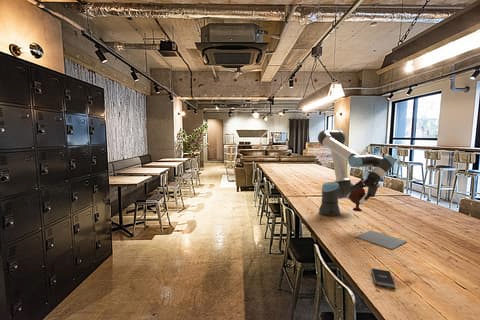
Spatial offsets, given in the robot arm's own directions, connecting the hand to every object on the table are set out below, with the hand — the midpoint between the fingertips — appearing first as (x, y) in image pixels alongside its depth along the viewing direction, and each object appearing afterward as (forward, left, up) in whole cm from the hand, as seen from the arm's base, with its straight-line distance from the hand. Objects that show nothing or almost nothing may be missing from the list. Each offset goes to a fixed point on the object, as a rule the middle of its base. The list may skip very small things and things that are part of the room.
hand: (353, 200), depth 160 cm
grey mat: (+19, -4, -18) cm, 26 cm away
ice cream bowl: (+1, +3, -6) cm, 7 cm away
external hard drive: (+40, -44, -18) cm, 63 cm away
